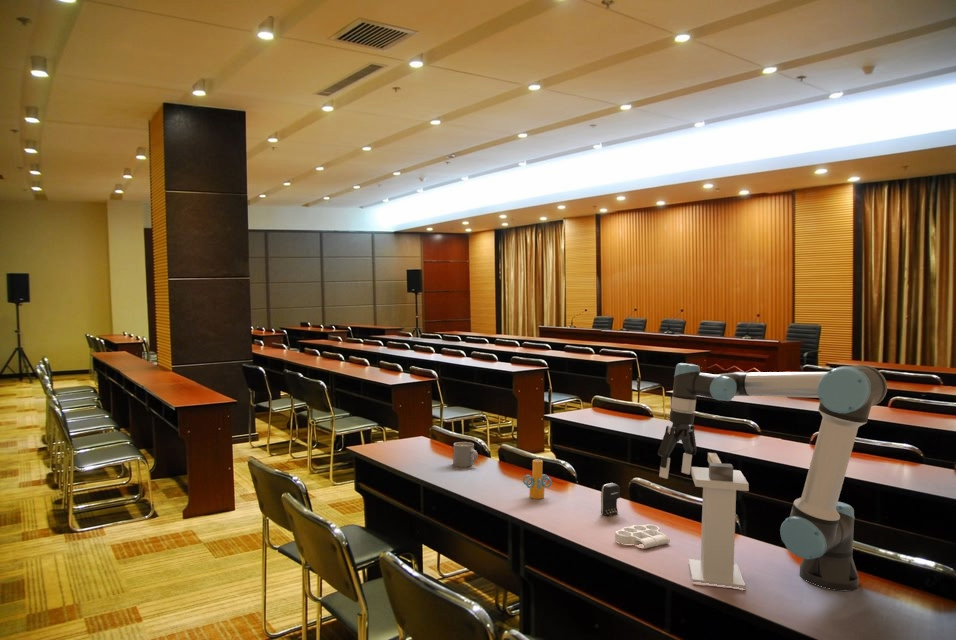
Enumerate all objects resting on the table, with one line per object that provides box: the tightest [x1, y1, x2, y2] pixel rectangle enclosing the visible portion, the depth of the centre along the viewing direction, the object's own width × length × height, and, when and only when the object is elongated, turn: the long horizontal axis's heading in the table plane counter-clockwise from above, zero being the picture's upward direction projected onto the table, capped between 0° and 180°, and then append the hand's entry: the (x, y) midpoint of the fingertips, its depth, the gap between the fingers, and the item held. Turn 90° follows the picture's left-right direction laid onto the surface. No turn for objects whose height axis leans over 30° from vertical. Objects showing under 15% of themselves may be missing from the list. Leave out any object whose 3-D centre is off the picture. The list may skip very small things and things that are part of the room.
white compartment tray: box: [614, 523, 671, 550], centre depth 215 cm, size 3×18×15 cm
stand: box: [688, 466, 750, 590], centre depth 186 cm, size 14×15×30 cm
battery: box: [600, 482, 621, 517], centre depth 240 cm, size 7×4×11 cm, turn 123°
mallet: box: [707, 452, 734, 482], centre depth 191 cm, size 6×24×4 cm, turn 166°
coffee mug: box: [452, 441, 479, 468], centre depth 309 cm, size 13×10×10 cm
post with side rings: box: [522, 459, 553, 500], centre depth 260 cm, size 12×10×15 cm
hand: (674, 475), depth 208 cm, fingers open, 13 cm apart
